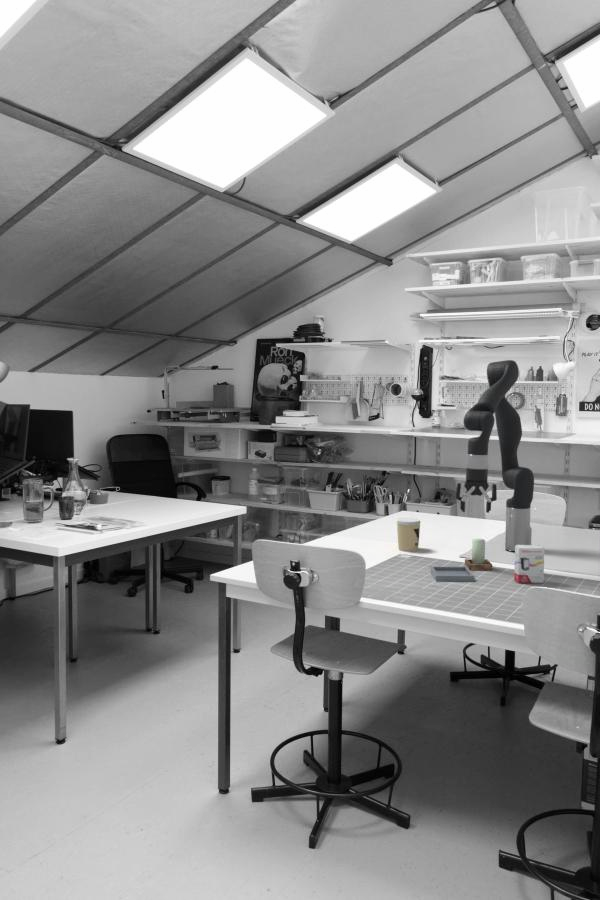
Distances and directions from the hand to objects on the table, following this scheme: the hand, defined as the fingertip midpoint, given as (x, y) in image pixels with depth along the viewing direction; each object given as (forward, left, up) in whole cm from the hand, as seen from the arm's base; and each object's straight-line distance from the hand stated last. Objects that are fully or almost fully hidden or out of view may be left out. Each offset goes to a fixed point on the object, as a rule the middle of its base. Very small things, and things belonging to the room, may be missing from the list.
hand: (475, 512), depth 254 cm
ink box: (-14, +20, -20) cm, 31 cm away
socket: (-1, +2, -20) cm, 20 cm away
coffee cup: (+21, -26, -20) cm, 39 cm away
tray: (+10, +14, -20) cm, 27 cm away
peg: (-1, +2, -20) cm, 20 cm away
